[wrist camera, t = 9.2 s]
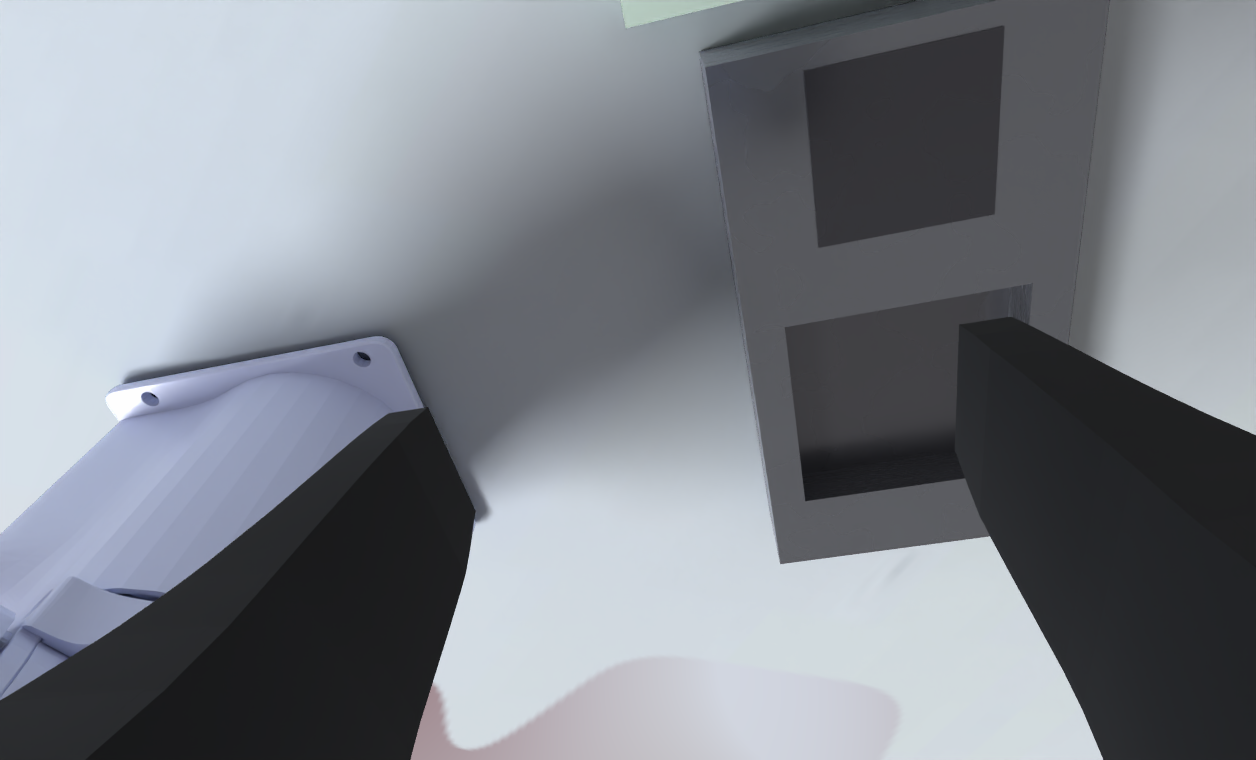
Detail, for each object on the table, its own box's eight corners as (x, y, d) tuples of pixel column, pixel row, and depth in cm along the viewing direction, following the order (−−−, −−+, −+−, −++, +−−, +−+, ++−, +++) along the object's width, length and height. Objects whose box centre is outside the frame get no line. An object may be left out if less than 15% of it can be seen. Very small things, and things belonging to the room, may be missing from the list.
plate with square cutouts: (770, 515, 25) (780, 565, 23) (698, 51, 17) (705, 68, 15) (1014, 480, 24) (1046, 529, 22) (1058, -33, 16) (1114, -27, 14)
